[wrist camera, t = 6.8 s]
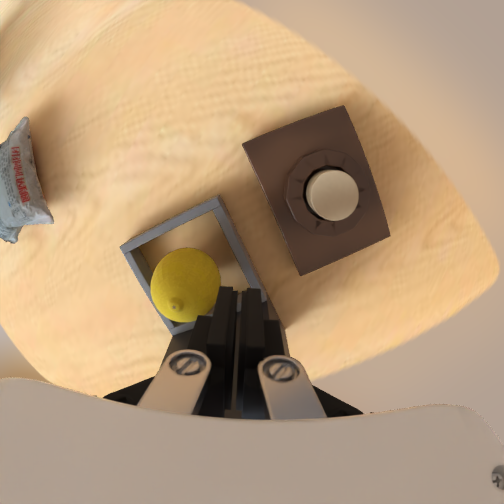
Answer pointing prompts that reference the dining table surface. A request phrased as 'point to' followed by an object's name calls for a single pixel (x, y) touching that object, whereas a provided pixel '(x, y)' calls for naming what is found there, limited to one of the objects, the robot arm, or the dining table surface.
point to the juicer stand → (184, 329)
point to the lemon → (185, 284)
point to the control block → (296, 180)
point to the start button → (332, 194)
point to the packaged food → (20, 185)
